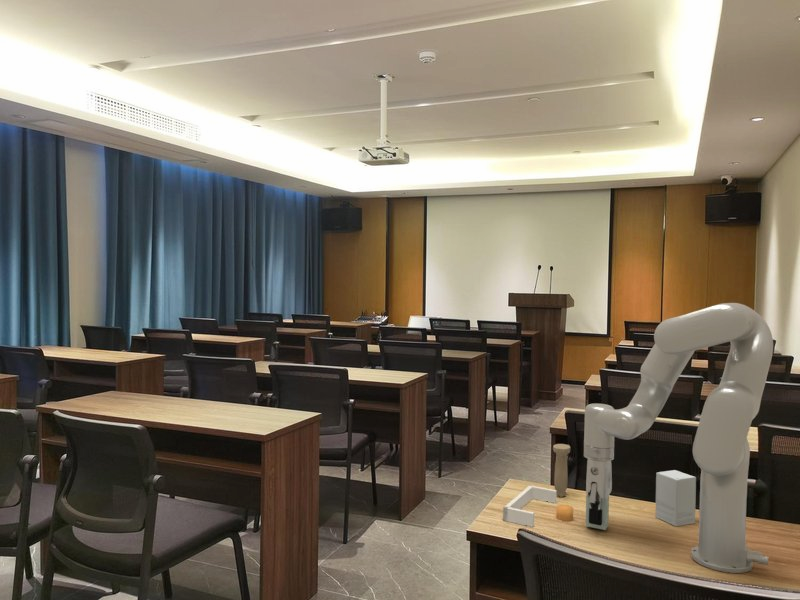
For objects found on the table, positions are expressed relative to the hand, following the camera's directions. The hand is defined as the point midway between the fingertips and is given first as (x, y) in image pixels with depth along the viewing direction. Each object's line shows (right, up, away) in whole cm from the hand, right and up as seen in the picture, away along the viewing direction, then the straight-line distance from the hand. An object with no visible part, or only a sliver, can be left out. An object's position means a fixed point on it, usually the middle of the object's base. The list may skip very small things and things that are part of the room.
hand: (597, 520), depth 157 cm
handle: (-3, -2, +25) cm, 25 cm away
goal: (-15, -2, +11) cm, 19 cm away
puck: (-7, -2, +7) cm, 10 cm away
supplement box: (+24, -3, +7) cm, 25 cm away
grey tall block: (0, -1, 0) cm, 1 cm away
